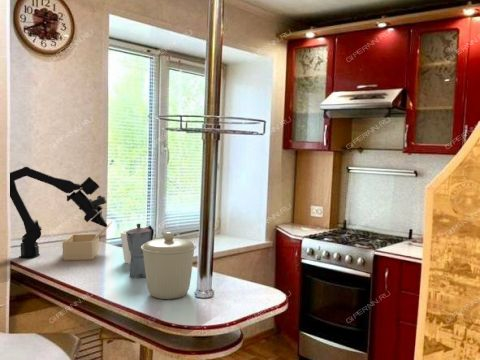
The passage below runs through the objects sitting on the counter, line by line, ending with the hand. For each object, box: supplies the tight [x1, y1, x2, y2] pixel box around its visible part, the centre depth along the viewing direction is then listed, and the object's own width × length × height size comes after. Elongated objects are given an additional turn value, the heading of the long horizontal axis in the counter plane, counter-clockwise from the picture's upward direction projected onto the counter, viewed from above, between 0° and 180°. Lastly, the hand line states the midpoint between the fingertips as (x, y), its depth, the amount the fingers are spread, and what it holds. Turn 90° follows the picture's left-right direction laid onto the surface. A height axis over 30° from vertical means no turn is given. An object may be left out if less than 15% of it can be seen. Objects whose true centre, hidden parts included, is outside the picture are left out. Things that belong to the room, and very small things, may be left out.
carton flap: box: [93, 221, 113, 241], centre depth 206 cm, size 8×16×1 cm
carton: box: [62, 233, 100, 262], centre depth 205 cm, size 12×19×8 cm, turn 9°
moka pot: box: [126, 223, 155, 279], centre depth 175 cm, size 10×15×20 cm, turn 158°
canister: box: [141, 231, 197, 300], centre depth 151 cm, size 18×18×21 cm
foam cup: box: [120, 229, 131, 265], centre depth 194 cm, size 10×9×13 cm
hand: (106, 226), depth 212 cm, fingers closed, pressing on carton flap
